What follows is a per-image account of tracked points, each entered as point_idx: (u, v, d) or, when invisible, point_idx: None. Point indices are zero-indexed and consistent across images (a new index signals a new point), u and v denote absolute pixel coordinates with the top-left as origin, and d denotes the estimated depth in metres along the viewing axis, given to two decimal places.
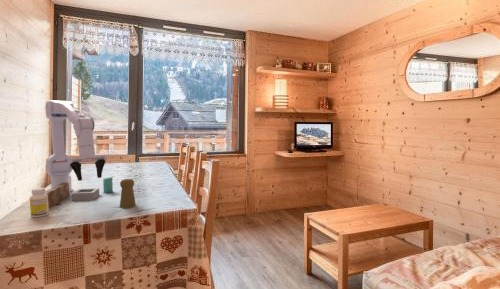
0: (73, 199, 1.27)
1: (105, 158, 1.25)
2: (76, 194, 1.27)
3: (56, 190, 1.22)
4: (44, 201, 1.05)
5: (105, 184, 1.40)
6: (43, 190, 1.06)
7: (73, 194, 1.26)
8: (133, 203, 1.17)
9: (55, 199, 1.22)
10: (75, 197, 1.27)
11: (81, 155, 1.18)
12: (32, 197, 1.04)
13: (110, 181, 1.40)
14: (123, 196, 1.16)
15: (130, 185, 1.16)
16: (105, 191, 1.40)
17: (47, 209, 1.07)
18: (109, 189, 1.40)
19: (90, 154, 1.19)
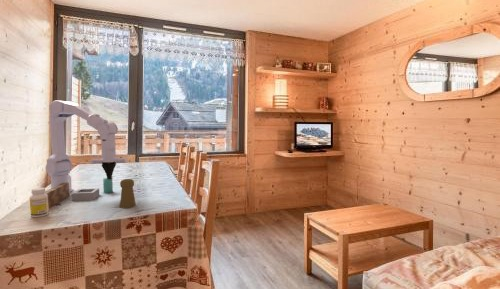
0: (73, 199, 1.27)
1: (124, 161, 1.33)
2: (76, 194, 1.27)
3: (56, 190, 1.22)
4: (44, 201, 1.05)
5: (105, 184, 1.40)
6: (43, 190, 1.06)
7: (73, 194, 1.26)
8: (133, 203, 1.17)
9: (55, 199, 1.22)
10: (75, 197, 1.27)
11: None
12: (32, 197, 1.04)
13: (110, 181, 1.40)
14: (123, 196, 1.16)
15: (130, 185, 1.16)
16: (105, 191, 1.40)
17: (47, 209, 1.07)
18: (109, 189, 1.40)
19: (107, 158, 1.30)
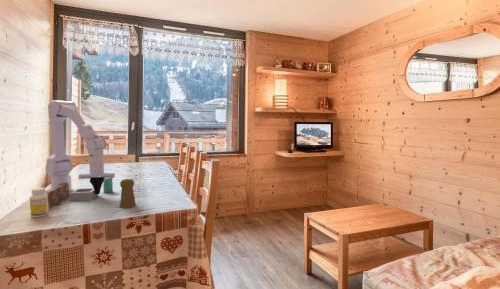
0: (71, 199, 1.26)
1: (112, 176, 1.32)
2: (74, 194, 1.26)
3: (56, 190, 1.22)
4: (44, 201, 1.05)
5: (105, 184, 1.40)
6: (43, 190, 1.06)
7: (71, 194, 1.26)
8: (133, 203, 1.17)
9: (55, 199, 1.22)
10: (73, 197, 1.26)
11: None
12: (32, 197, 1.04)
13: (110, 181, 1.40)
14: (123, 196, 1.16)
15: (130, 185, 1.16)
16: (105, 191, 1.40)
17: (47, 209, 1.07)
18: (109, 189, 1.40)
19: (95, 173, 1.29)
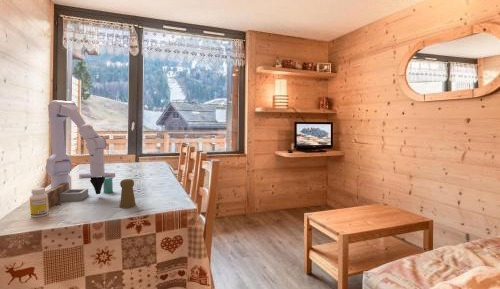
0: (61, 200, 1.26)
1: (113, 176, 1.32)
2: (64, 195, 1.26)
3: (56, 190, 1.22)
4: (44, 201, 1.05)
5: (105, 184, 1.40)
6: (43, 190, 1.06)
7: (61, 195, 1.25)
8: (133, 203, 1.17)
9: (55, 199, 1.22)
10: (63, 198, 1.26)
11: (90, 172, 1.30)
12: (32, 197, 1.04)
13: (110, 181, 1.40)
14: (123, 196, 1.16)
15: (130, 185, 1.16)
16: (105, 191, 1.40)
17: (47, 209, 1.07)
18: (109, 189, 1.40)
19: (95, 173, 1.29)
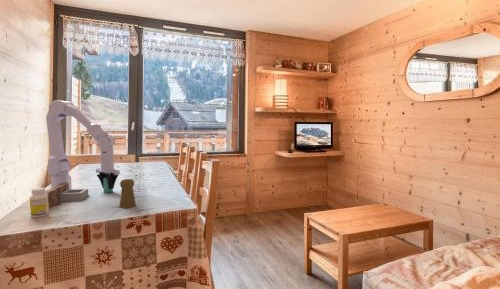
0: (61, 200, 1.26)
1: (115, 173, 1.37)
2: (64, 195, 1.26)
3: (56, 190, 1.22)
4: (44, 201, 1.05)
5: (105, 184, 1.40)
6: (43, 190, 1.06)
7: (61, 195, 1.25)
8: (133, 203, 1.17)
9: (55, 199, 1.22)
10: (63, 198, 1.26)
11: None
12: (32, 197, 1.04)
13: None
14: (123, 196, 1.16)
15: (130, 185, 1.16)
16: (105, 191, 1.40)
17: (47, 209, 1.07)
18: (109, 189, 1.40)
19: (102, 168, 1.38)
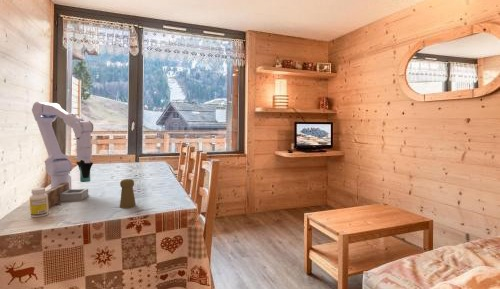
0: (61, 200, 1.26)
1: (84, 161, 1.27)
2: (64, 195, 1.26)
3: (56, 190, 1.22)
4: (44, 201, 1.05)
5: (80, 172, 1.32)
6: (43, 190, 1.06)
7: (61, 195, 1.25)
8: (133, 203, 1.17)
9: (55, 199, 1.22)
10: (63, 198, 1.26)
11: None
12: (32, 197, 1.04)
13: None
14: (123, 196, 1.16)
15: (130, 185, 1.16)
16: (80, 180, 1.32)
17: (47, 209, 1.07)
18: (84, 178, 1.32)
19: (77, 155, 1.31)
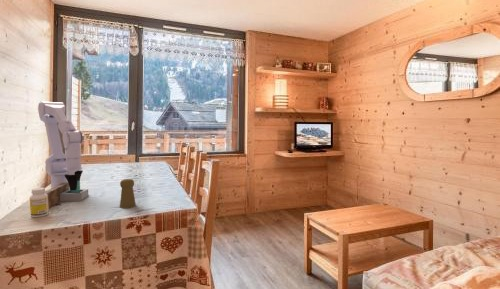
0: (61, 200, 1.26)
1: None
2: (64, 195, 1.26)
3: (56, 190, 1.22)
4: (44, 201, 1.05)
5: None
6: (43, 190, 1.06)
7: (61, 195, 1.25)
8: (133, 203, 1.17)
9: (55, 199, 1.22)
10: (63, 198, 1.26)
11: None
12: (32, 197, 1.04)
13: None
14: (123, 196, 1.16)
15: (130, 185, 1.16)
16: None
17: (47, 209, 1.07)
18: None
19: (66, 166, 1.28)
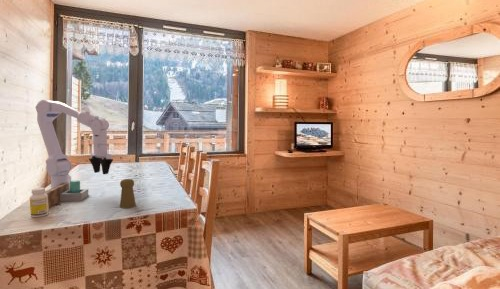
0: (61, 200, 1.26)
1: (106, 157, 1.33)
2: (64, 195, 1.26)
3: (56, 190, 1.22)
4: (44, 201, 1.05)
5: None
6: (43, 190, 1.06)
7: (61, 195, 1.25)
8: (133, 203, 1.17)
9: (55, 199, 1.22)
10: (63, 198, 1.26)
11: None
12: (32, 197, 1.04)
13: (73, 185, 1.28)
14: (123, 196, 1.16)
15: (130, 185, 1.16)
16: None
17: (47, 209, 1.07)
18: None
19: (94, 152, 1.35)
